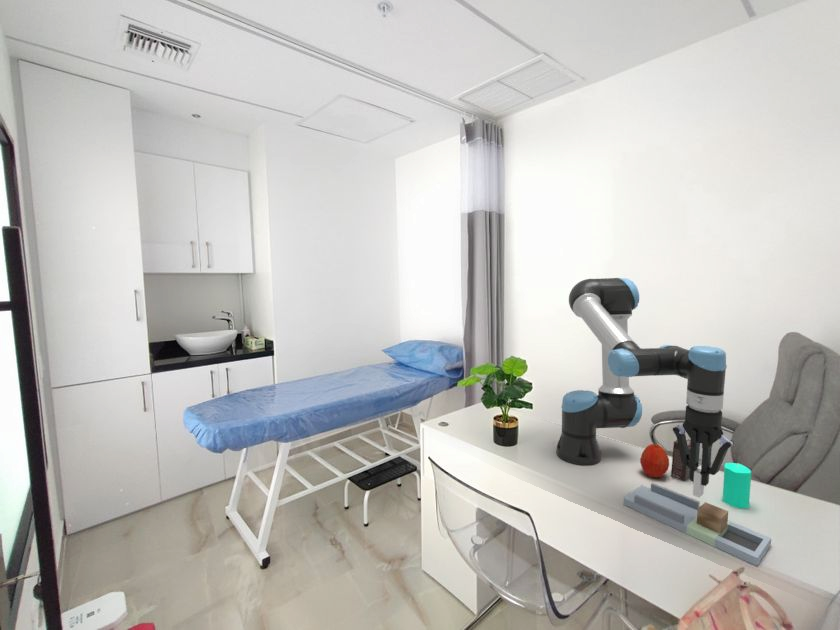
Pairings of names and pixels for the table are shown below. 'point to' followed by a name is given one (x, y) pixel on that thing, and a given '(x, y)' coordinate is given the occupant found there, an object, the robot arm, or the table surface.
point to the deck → (684, 518)
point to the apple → (654, 461)
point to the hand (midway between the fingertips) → (698, 494)
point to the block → (712, 517)
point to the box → (679, 463)
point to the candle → (736, 485)
